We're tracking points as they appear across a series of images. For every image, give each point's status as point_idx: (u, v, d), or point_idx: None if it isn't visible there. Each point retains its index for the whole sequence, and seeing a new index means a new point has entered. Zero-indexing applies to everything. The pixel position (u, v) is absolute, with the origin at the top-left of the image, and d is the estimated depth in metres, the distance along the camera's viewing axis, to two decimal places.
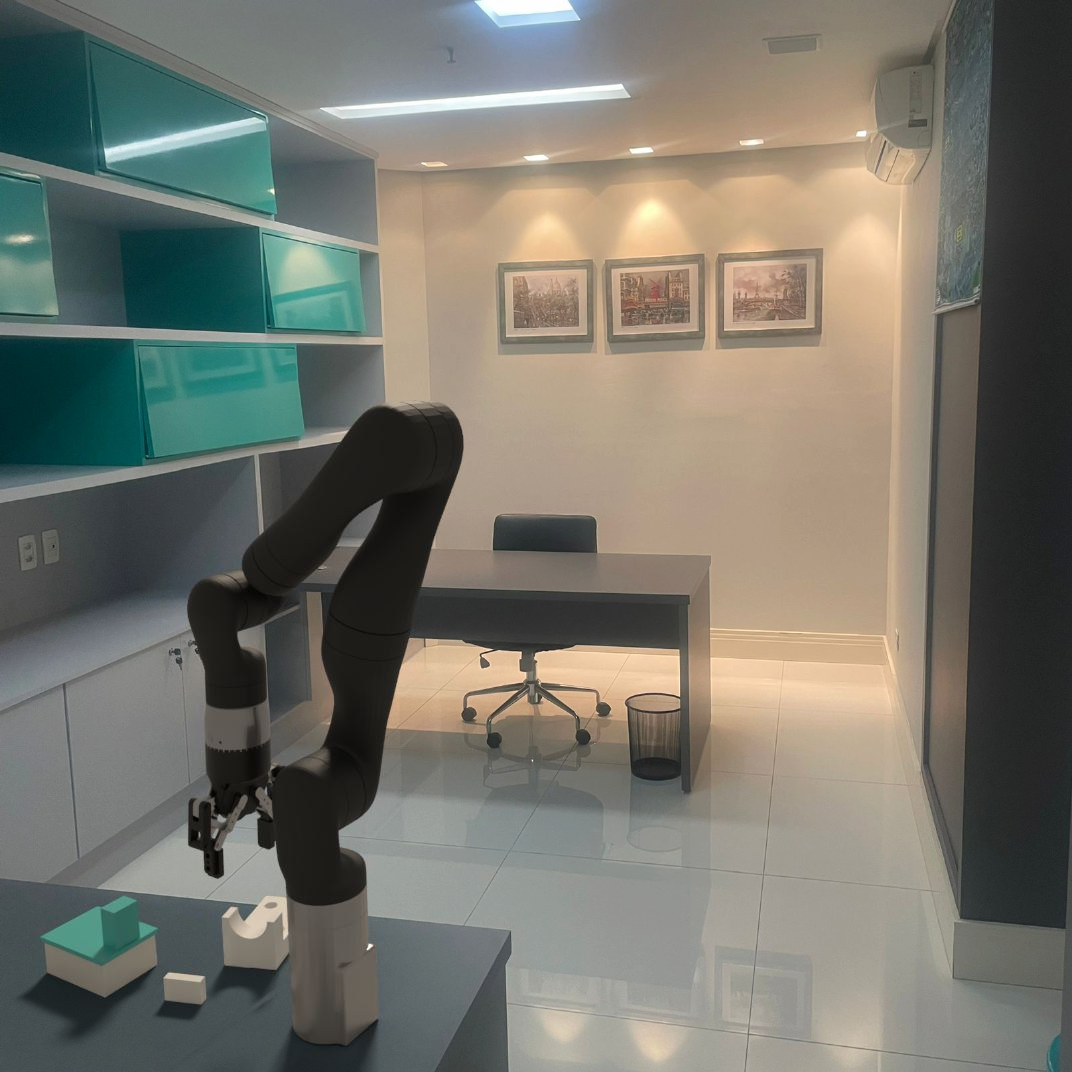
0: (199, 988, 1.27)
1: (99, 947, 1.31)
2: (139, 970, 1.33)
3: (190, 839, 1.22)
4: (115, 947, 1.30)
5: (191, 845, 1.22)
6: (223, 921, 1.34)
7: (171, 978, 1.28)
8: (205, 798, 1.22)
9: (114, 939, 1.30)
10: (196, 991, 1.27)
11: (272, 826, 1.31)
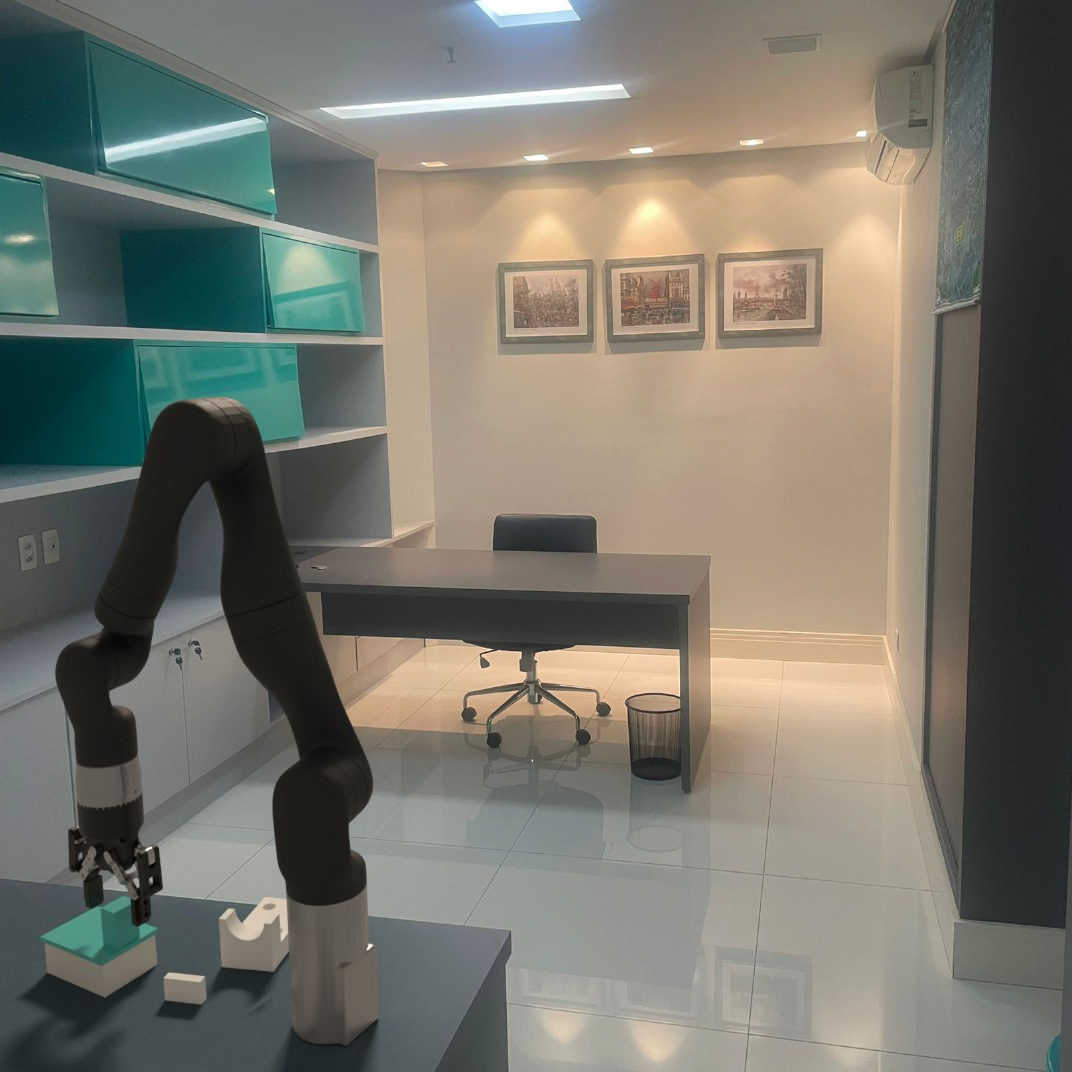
0: (199, 988, 1.27)
1: (99, 947, 1.31)
2: (139, 970, 1.33)
3: (148, 889, 1.26)
4: (115, 947, 1.30)
5: (150, 894, 1.27)
6: (220, 922, 1.34)
7: (171, 978, 1.28)
8: (141, 848, 1.27)
9: (114, 939, 1.30)
10: (196, 991, 1.27)
11: None
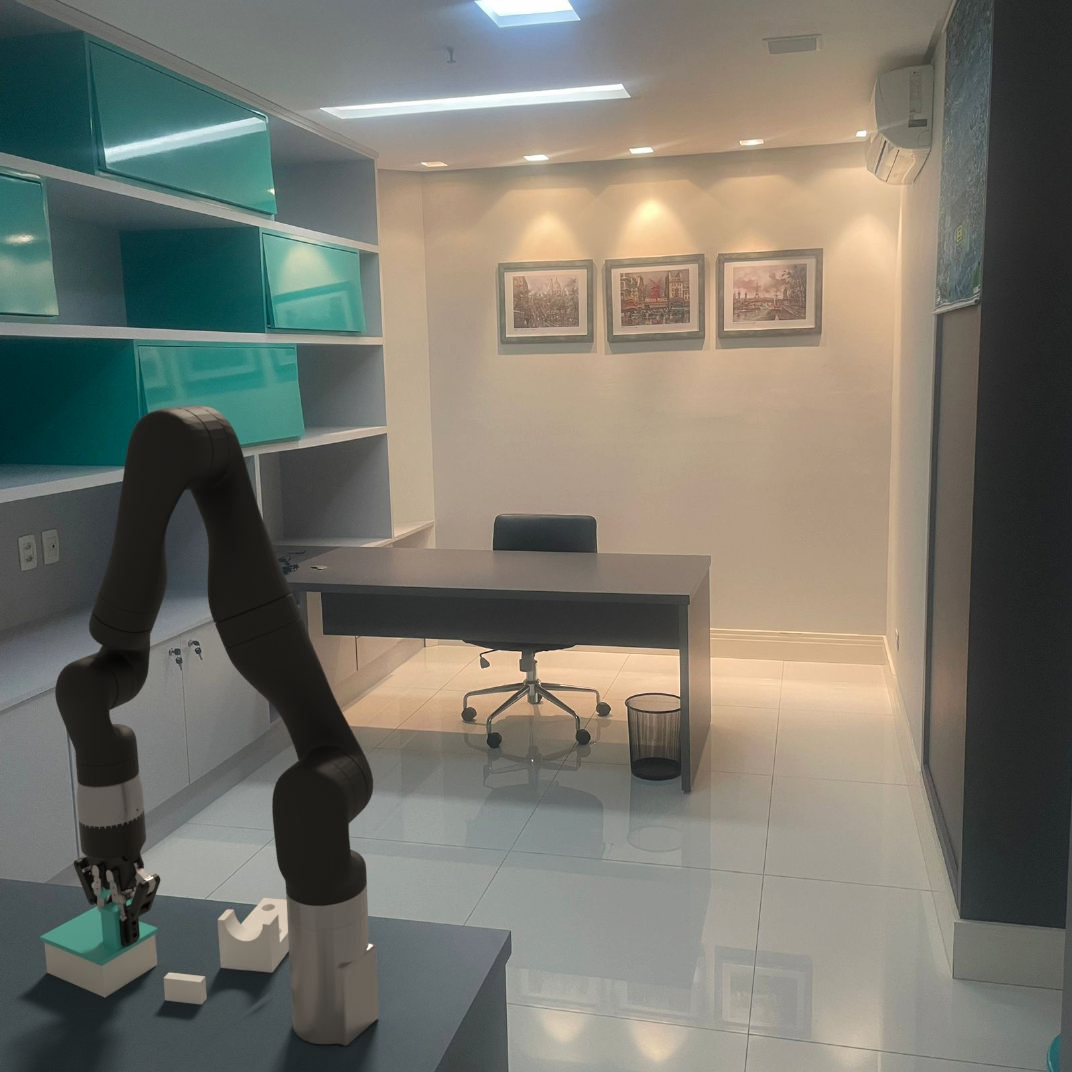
0: (199, 988, 1.27)
1: (98, 947, 1.31)
2: (139, 970, 1.33)
3: (137, 913, 1.28)
4: (115, 947, 1.30)
5: (137, 916, 1.29)
6: (219, 923, 1.34)
7: (171, 978, 1.28)
8: (144, 875, 1.28)
9: (114, 939, 1.30)
10: (196, 991, 1.27)
11: None
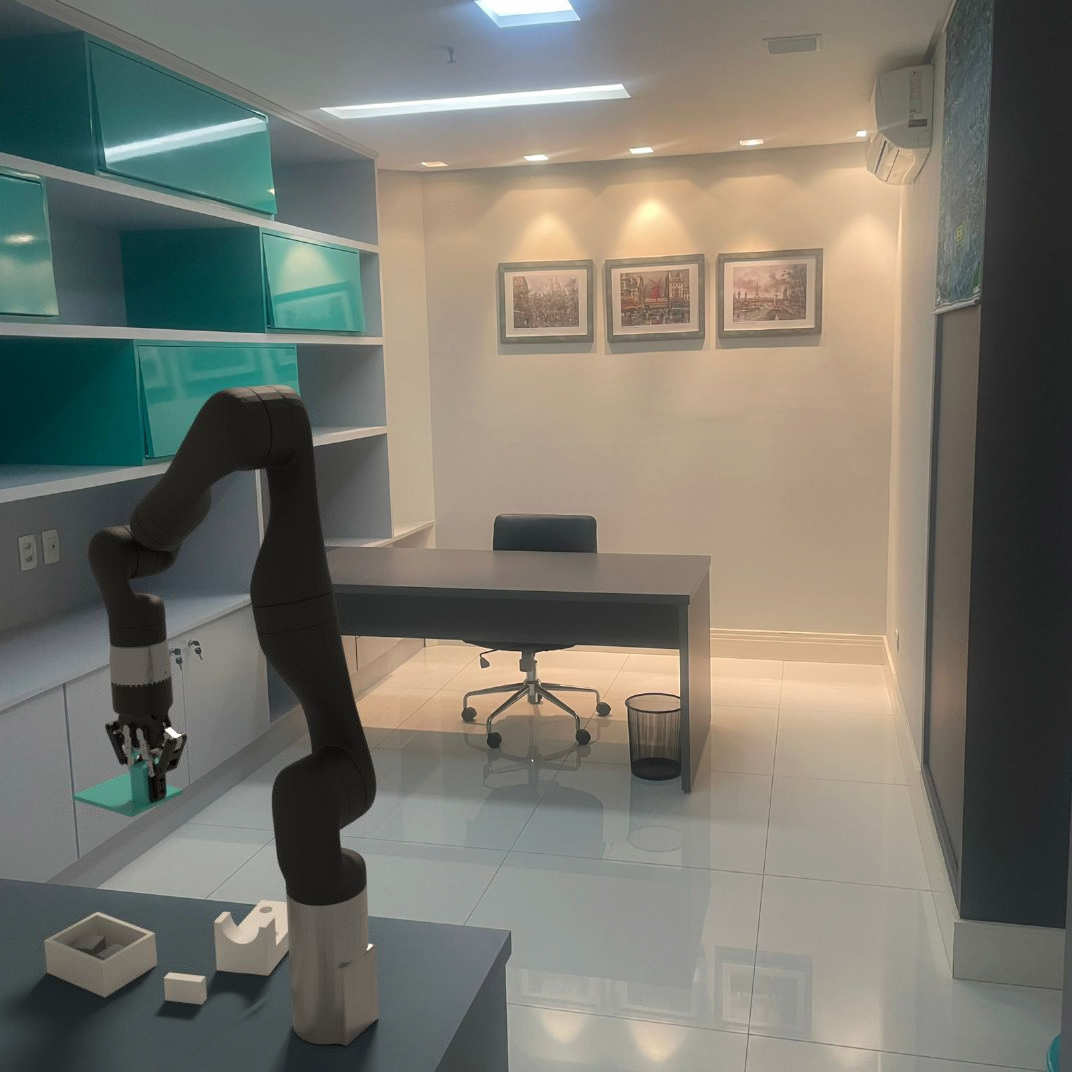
0: (199, 988, 1.27)
1: (128, 803, 1.40)
2: (139, 970, 1.33)
3: (165, 769, 1.38)
4: (143, 802, 1.39)
5: (165, 772, 1.38)
6: (216, 926, 1.33)
7: (172, 978, 1.28)
8: (172, 733, 1.37)
9: (143, 794, 1.39)
10: (197, 991, 1.27)
11: None
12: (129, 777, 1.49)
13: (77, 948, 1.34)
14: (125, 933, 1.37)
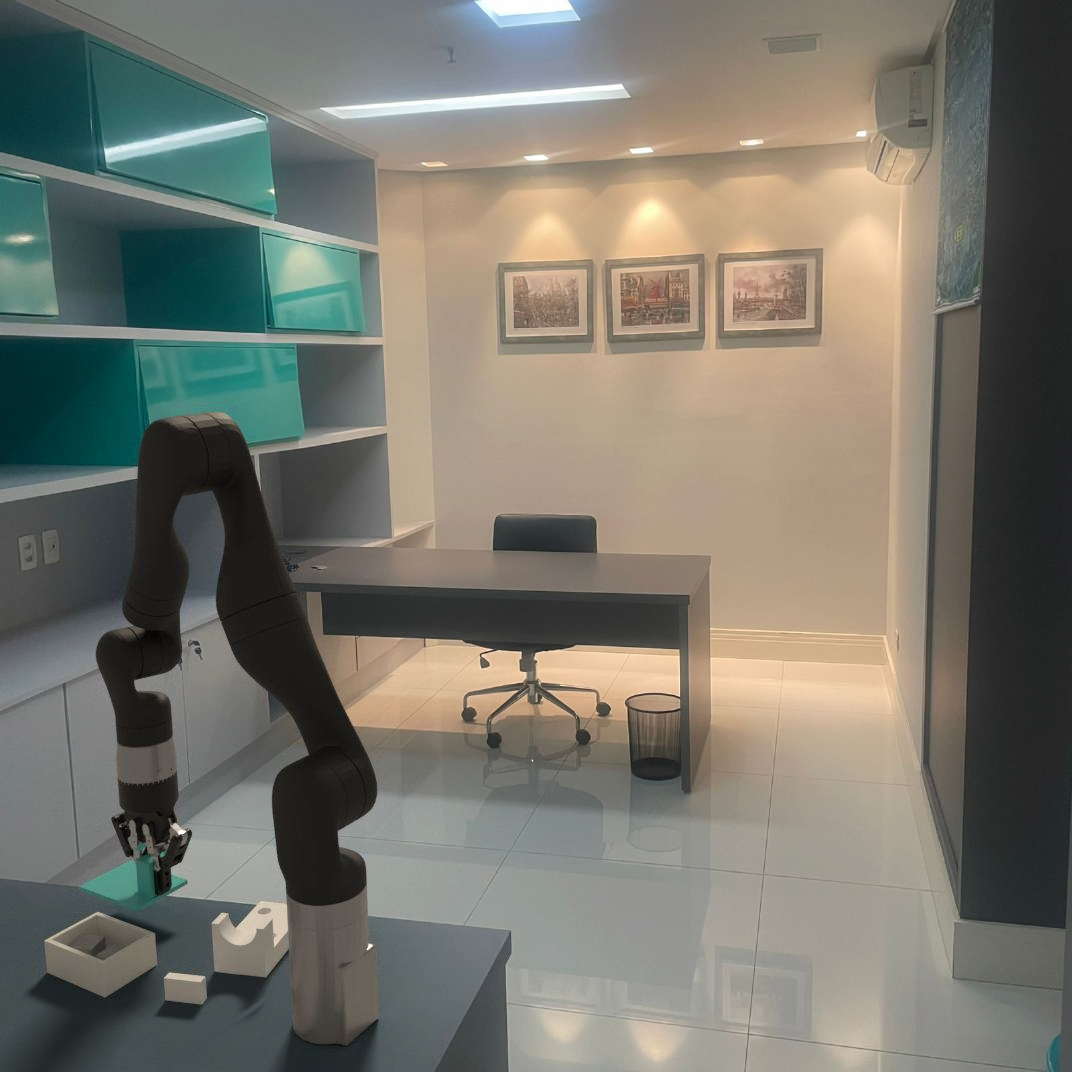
0: (199, 988, 1.27)
1: (134, 896, 1.42)
2: (139, 970, 1.33)
3: (171, 864, 1.40)
4: (149, 895, 1.42)
5: None
6: (213, 927, 1.33)
7: (172, 978, 1.28)
8: (177, 829, 1.39)
9: (148, 888, 1.42)
10: (197, 991, 1.27)
11: None
12: (134, 865, 1.51)
13: (77, 948, 1.34)
14: (125, 933, 1.37)
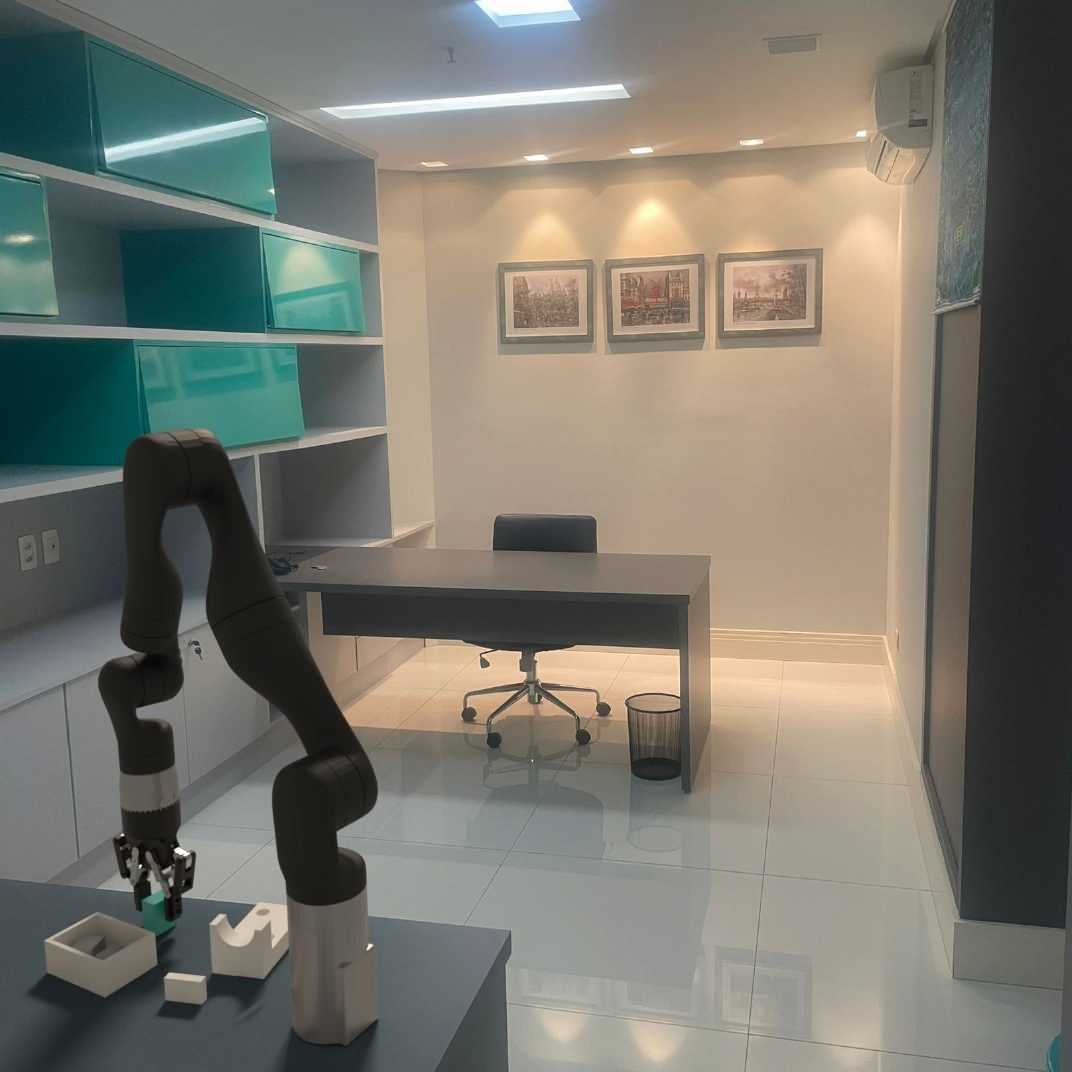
0: (200, 988, 1.27)
1: None
2: (139, 970, 1.33)
3: (181, 889, 1.40)
4: None
5: (181, 893, 1.40)
6: (211, 928, 1.33)
7: (172, 978, 1.28)
8: (180, 852, 1.40)
9: (154, 928, 1.42)
10: (197, 991, 1.27)
11: None
12: None
13: (77, 948, 1.34)
14: (125, 933, 1.37)
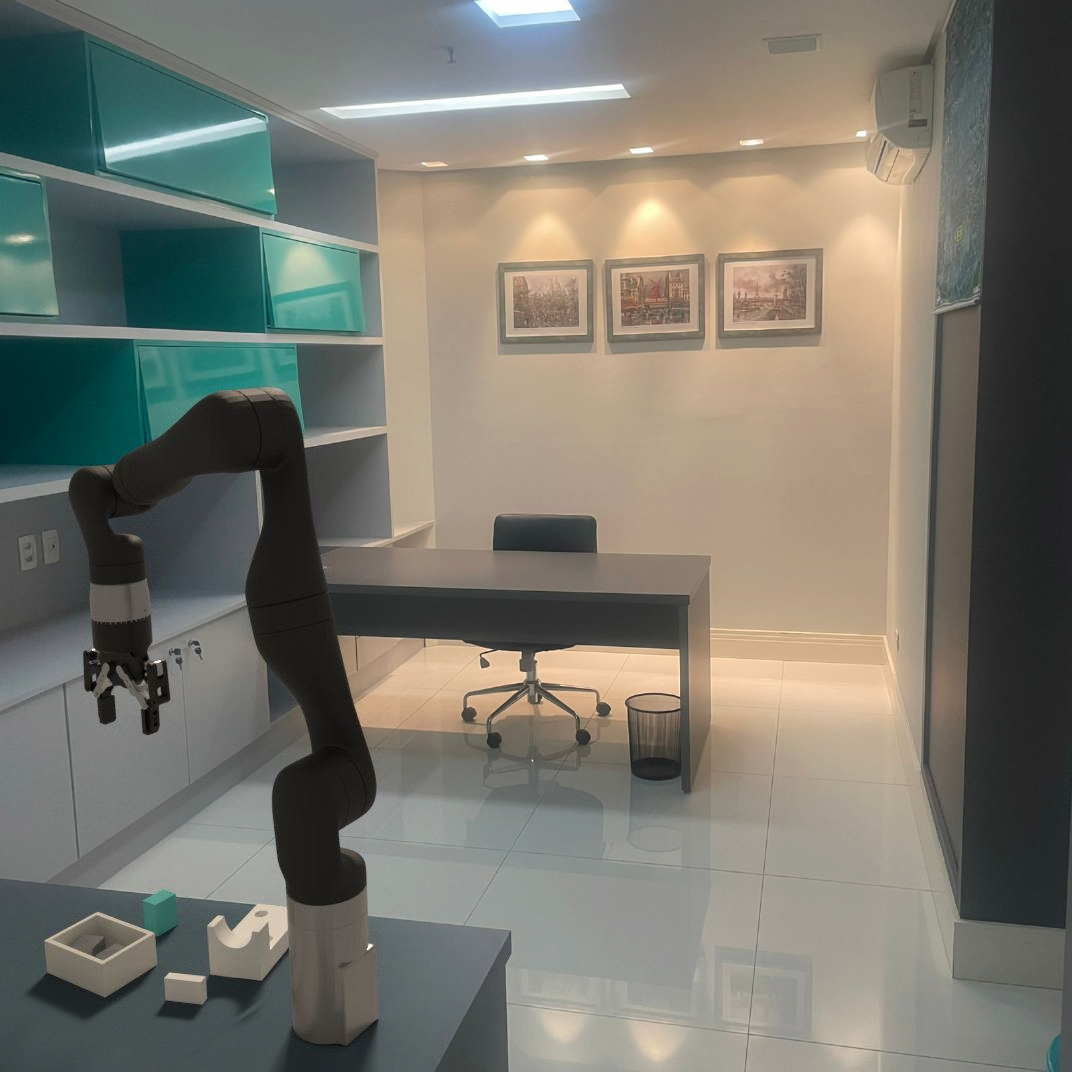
0: (200, 988, 1.27)
1: None
2: (139, 970, 1.33)
3: (157, 698, 1.39)
4: None
5: (159, 702, 1.39)
6: (209, 930, 1.32)
7: (172, 978, 1.28)
8: (150, 661, 1.39)
9: (155, 929, 1.42)
10: (197, 991, 1.27)
11: None
12: None
13: (77, 948, 1.34)
14: (125, 933, 1.37)
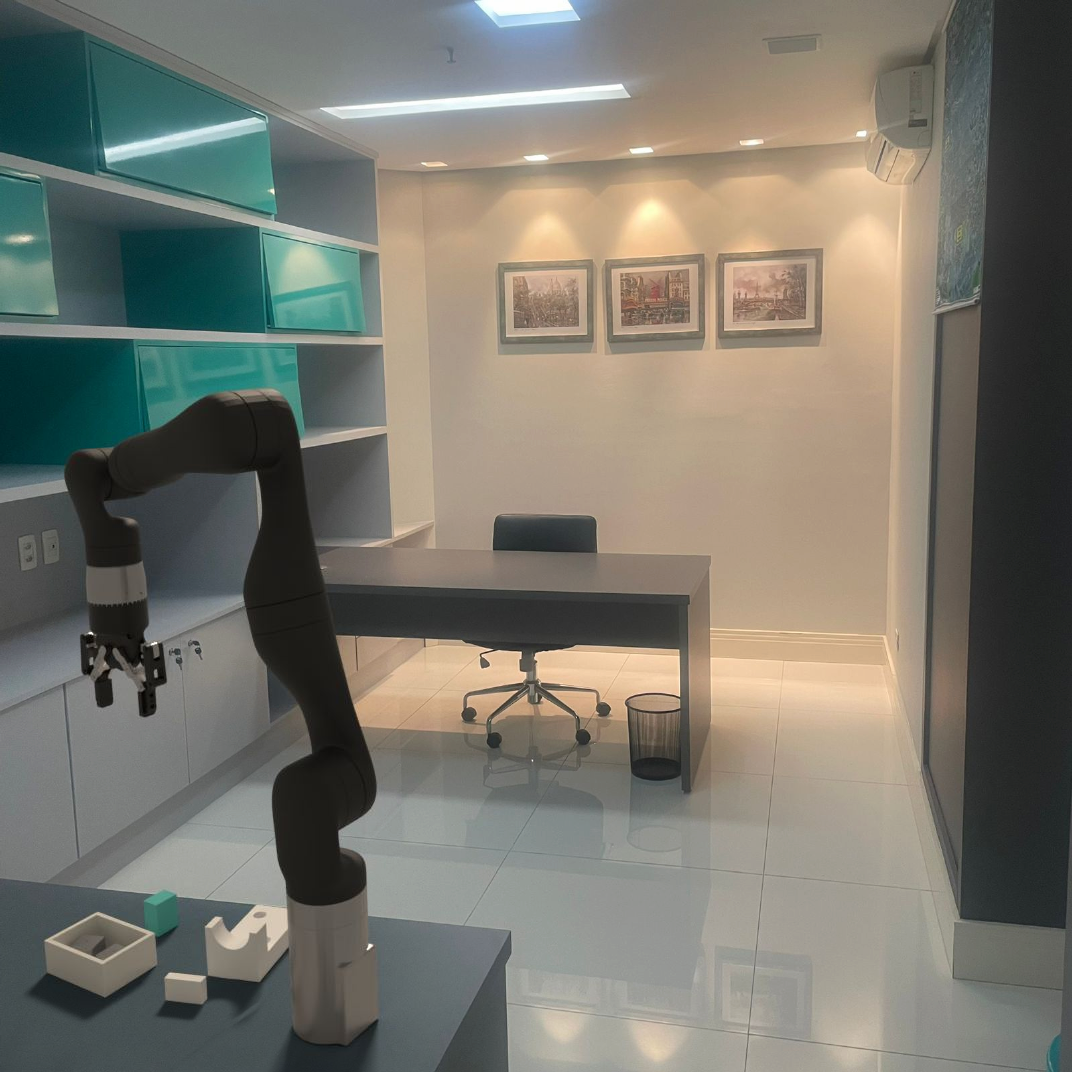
0: (200, 988, 1.27)
1: None
2: (139, 970, 1.33)
3: (154, 680, 1.39)
4: (157, 936, 1.42)
5: (155, 684, 1.39)
6: (206, 931, 1.32)
7: (172, 978, 1.28)
8: (146, 643, 1.40)
9: (156, 929, 1.42)
10: (197, 991, 1.27)
11: None
12: None
13: (77, 948, 1.34)
14: (125, 933, 1.37)
